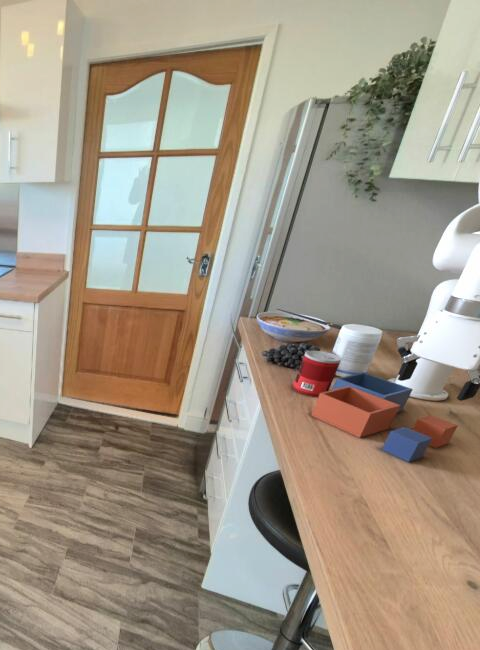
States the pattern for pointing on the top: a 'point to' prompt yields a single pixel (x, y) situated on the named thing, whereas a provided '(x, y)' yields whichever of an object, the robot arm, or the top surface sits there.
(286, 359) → the fruit
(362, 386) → the blue bin
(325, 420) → the terracotta bin
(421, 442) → the blue block
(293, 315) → the ramen bowl
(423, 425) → the terracotta block
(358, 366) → the supplement tub
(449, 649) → the top surface
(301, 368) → the canned food
